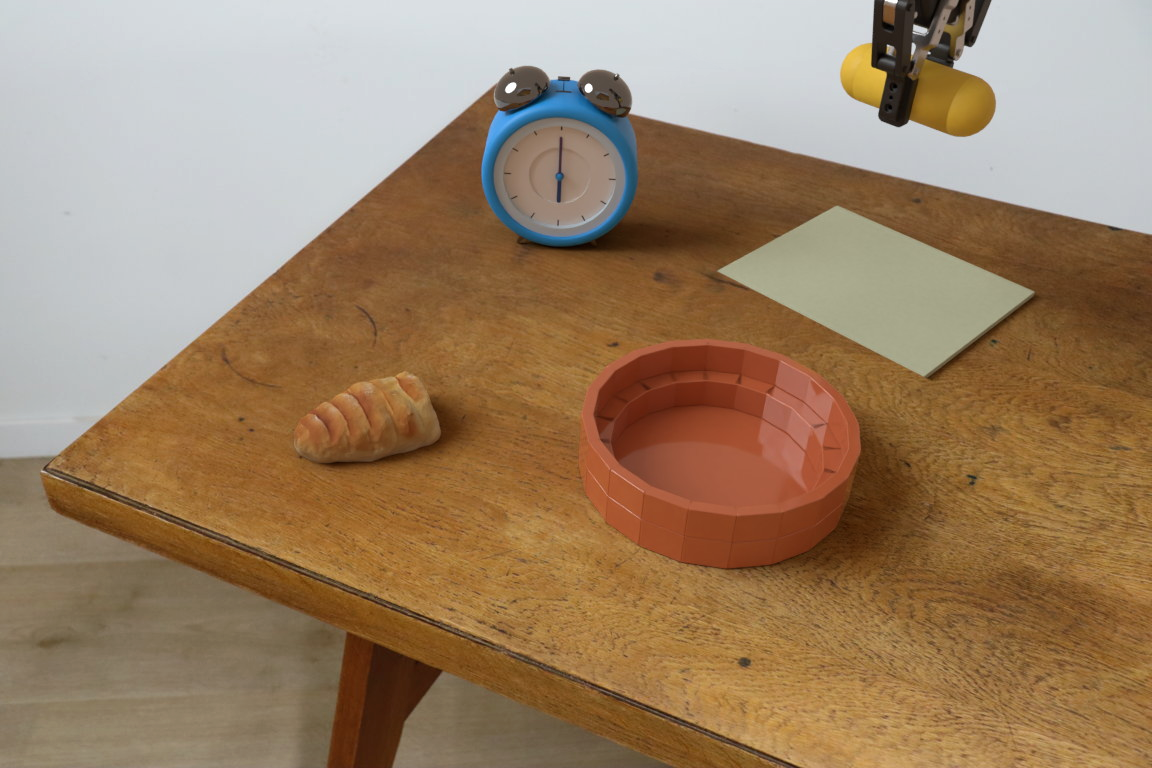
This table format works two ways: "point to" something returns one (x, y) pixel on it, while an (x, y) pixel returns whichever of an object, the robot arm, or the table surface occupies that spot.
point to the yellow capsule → (926, 93)
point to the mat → (880, 288)
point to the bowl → (717, 452)
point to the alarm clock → (560, 156)
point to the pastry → (369, 422)
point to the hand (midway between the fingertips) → (910, 113)
